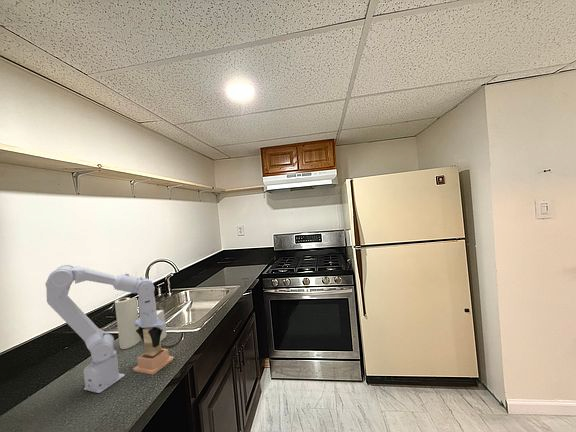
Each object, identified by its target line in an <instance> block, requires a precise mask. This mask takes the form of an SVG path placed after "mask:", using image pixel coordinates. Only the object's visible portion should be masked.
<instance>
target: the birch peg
mask: <svg viewBox="0 0 576 432" xmlns="http://www.w3.org/2000/svg"><path fill="white" fill-rule="evenodd" d="M151 329H153V328H151V327H147V328H144V329H143V337H144V343H143V345H144V353H145V355H148V356H154V355H156V354H157V353H159V352H161V351H162V349H163V348H162V341H161V339H160V343H159V345H158V346H157V347H155V348H154V347H153V344H152V339H151V336H150V334H149V333H148V331H149V330H151ZM161 348H162V349H161Z"/></svg>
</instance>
